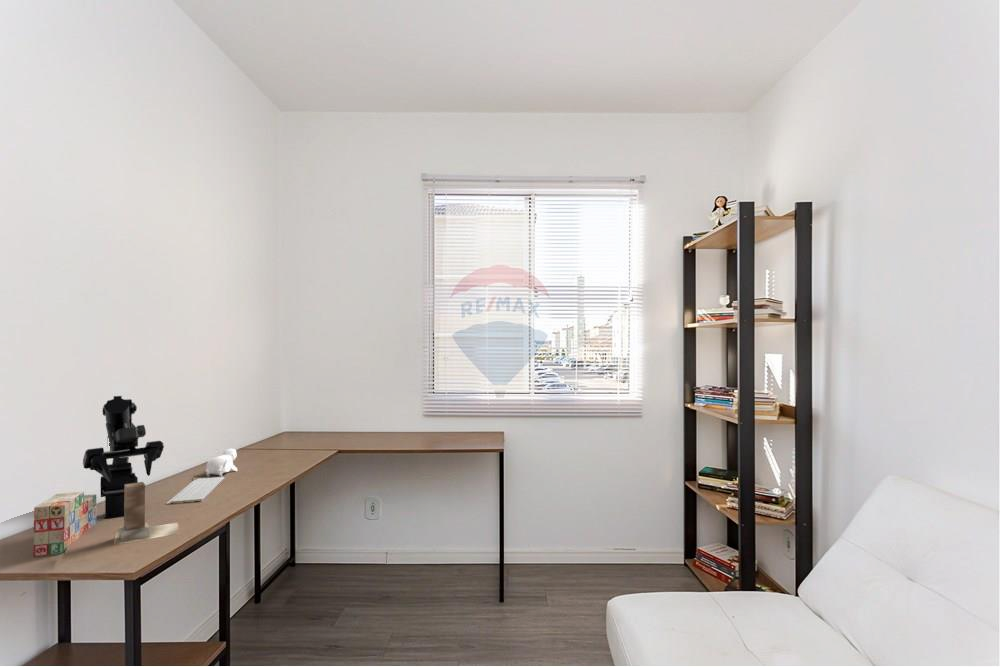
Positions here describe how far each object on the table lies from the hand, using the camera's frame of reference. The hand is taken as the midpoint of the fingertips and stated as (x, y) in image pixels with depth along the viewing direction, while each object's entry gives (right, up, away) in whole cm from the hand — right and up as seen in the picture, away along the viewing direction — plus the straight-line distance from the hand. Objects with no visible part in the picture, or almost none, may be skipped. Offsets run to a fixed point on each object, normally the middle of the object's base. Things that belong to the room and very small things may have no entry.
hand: (130, 477), depth 152 cm
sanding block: (+10, -12, -13) cm, 20 cm away
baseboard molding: (-3, -15, +37) cm, 40 cm away
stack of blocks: (-9, -14, -11) cm, 20 cm away
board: (+11, -13, -9) cm, 20 cm away
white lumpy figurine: (-7, -15, +64) cm, 67 cm away
